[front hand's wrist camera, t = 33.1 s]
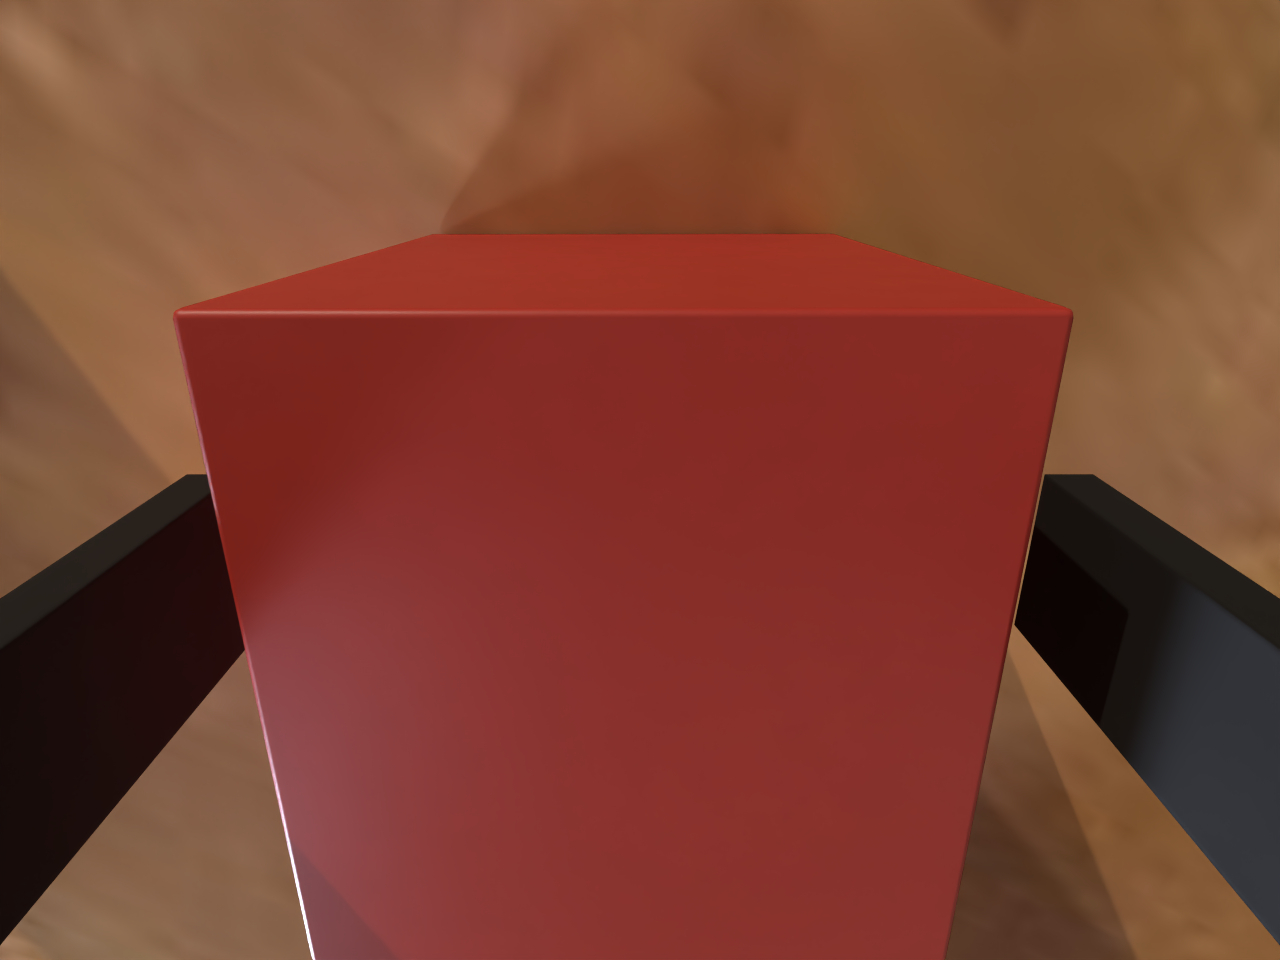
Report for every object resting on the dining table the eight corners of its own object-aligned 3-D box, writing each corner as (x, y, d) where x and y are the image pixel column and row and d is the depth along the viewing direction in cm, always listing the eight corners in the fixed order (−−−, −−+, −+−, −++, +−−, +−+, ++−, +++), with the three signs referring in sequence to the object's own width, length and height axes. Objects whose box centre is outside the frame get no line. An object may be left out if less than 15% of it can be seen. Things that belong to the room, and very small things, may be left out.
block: (836, 233, 17) (1080, 309, 7) (805, 597, 20) (947, 964, 11) (429, 234, 17) (166, 308, 8) (463, 597, 20) (310, 964, 11)
